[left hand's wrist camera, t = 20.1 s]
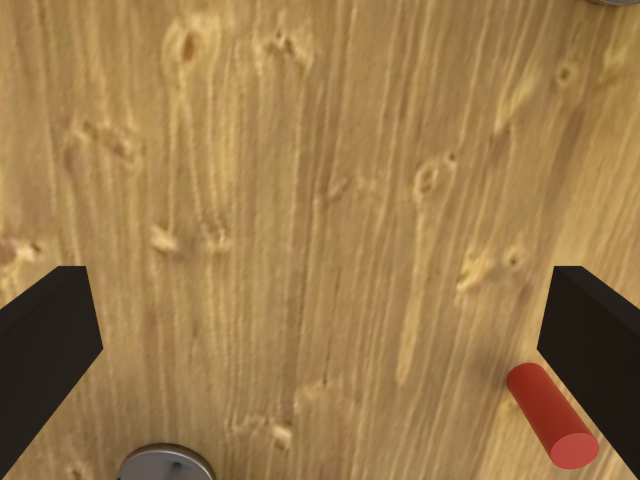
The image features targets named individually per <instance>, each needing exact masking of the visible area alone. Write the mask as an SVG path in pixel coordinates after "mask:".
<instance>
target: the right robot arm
mask: <svg viewBox="0 0 640 480" xmlns="http://www.w3.org/2000/svg"><path fill="white" fill-rule="evenodd" d="M116 480H216V477H215V474H214V471H213V469H212V468H211V466H210V465H209V464H208V462H207V461H206V460H205V459H204V458H202V457H201V456H200V455H198V454H197V453H195V452H193V451H191V450H189V449H187V448H184V447H181V446H177V445H171V444H153V445H148V446H145V447H142V448H139V449H137V450H135V451H134V452H132V453H131V454H130V455H129V456H128V457H127V458H126V459H125V461H124V462H123V464H122V466H121V468H120V470H119V472H118V474H117V478H116Z"/></svg>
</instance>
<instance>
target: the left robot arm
mask: <svg viewBox="0 0 640 480" xmlns="http://www.w3.org/2000/svg"><path fill="white" fill-rule="evenodd" d="M587 1H589V2H591V3H594V4H598V5H602V6H613V7H616V6H625V5H630V4H635V3H639V2H640V0H587ZM102 350H103V345H102V340H101V335H100V331H99V326H98V321H97V317H96V312H95V307H94V302H93V298H92V293H91V288H90V284H89V279H88V274H87V270H86V266H58V267H56V268H55V269H54V270H52V271H51V272H50V273H48V274H47V275H46V276H44V277H43V278H42V279H40V280H39V281H38V282H36V283H35V284H34V285H32V286H31V287H30V288H28V289H27V290H26V291H24V292H23V293H22V294H20V295H19V296H18V297H16V298H15V299H14V300H12V301H11V302H10V303H8V304H7V305H6V306H4V307H3V308H2V309H0V480H2V479H3V478H4V476H5V475H6V474H7V472H8V471H9V470H10V469H11V467H12V466H13V465H14V463H15V462H16V461H17V459H18V458H19V457H20V456H21V454H22V453H23V452H24V450H25V449H26V448H27V447H28V445H29V444H30V443H31V441H32V440H33V439H34V438H35V436H36V435H37V434H38V432H39V431H40V430H41V429H42V427H43V426H44V425H45V423H46V422H47V421H48V420H49V418H50V417H51V416H52V414H53V413H54V412H55V411H56V409H57V408H58V407H59V405H60V404H61V403H62V402H63V400H64V399H65V398H66V396H67V395H68V394H69V392H70V391H71V390H72V389H73V387H74V386H75V385H76V383H77V382H78V381H79V380H80V378H81V377H82V376H83V374H84V373H85V372H86V371H87V369H88V368H89V367H90V365H91V364H92V363H93V362H94V360H95V359H96V358H97V356H98V355H99V354H100V353H101V351H102ZM537 350H538V351H539V353H540V354H541V355H542V356H543V358H544V359H545V360H546V362H547V363H548V364H549V365H550V367H551V368H552V369H553V371H554V372H555V373H556V374H557V376H558V377H559V378H560V380H561V381H562V382H563V383H564V385H565V386H566V387H567V389H568V390H569V391H570V392H571V394H572V395H573V396H574V398H575V399H576V400H577V402H578V403H579V404H580V405H581V407H582V408H583V409H584V411H585V412H586V413H587V414H588V416H589V417H590V418H591V420H592V421H593V422H594V423H595V425H596V426H597V427H598V429H599V430H600V431H601V432H602V434H603V435H604V436H605V438H606V439H607V440H608V441H609V443H610V444H611V445H612V447H613V448H614V449H615V450H616V452H617V453H618V454H619V456H620V457H621V458H622V459H623V461H624V462H625V463H626V465H627V466H628V467H629V469H630V470H631V471H632V472H633V474H634V475H635V476H636V478H637V479H638V480H640V309H638V308H637V307H636V306H634V305H633V304H632V303H630V302H629V301H628V300H626V299H625V298H624V297H622V296H621V295H620V294H618V293H617V292H616V291H614V290H613V289H612V288H610V287H609V286H608V285H606V284H605V283H604V282H602V281H601V280H600V279H598V278H597V277H596V276H594V275H593V274H592V273H590V272H589V271H588V270H586V269H585V268H584V267H582V266H554V270H553V274H552V279H551V284H550V288H549V293H548V298H547V302H546V307H545V312H544V317H543V321H542V326H541V331H540V335H539V340H538V345H537Z"/></svg>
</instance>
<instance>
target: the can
mask: <svg viewBox="0 0 640 480" xmlns="http://www.w3.org/2000/svg"><path fill="white" fill-rule="evenodd" d="M507 386H508V388H509V390H510V391H511V393H512V395H513V396H514V398H515V400H516V401H517V403H518V405H519V406H520V408H521V410H522V412H523V413H524V415H525V417H526V418H527V420H528V422H529V423H530V425H531V427H532V428H533V430H534V432H535V434H536V435H537V437H538V439H539V440H540V442H541V444H542V445H543V447H544V449H545V450H546V452H547V454H548V456H549V457H550V459H551V461H552V462H553V463H554V464H555V465H556V466H558V467H560V468H563V469H577V468H581V467H583V466H585V465H587V464H589V463H590V462H591V461H593V460H594V459H595V457H596V456H597V454H598V452H599V444H598V441H597V440H596V438H595V437H594V436H593V434H592V433H591V432H590V430H589V429H588V428H587V426H586V425H585V424H584V422H583V421H582V420H581V418H580V417H579V416H578V414H577V413H576V411H575V410H574V409H573V407H572V406H571V405H570V403H569V402H568V401H567V399H566V398H565V397H564V395H563V394H562V393H561V391H560V390H559V389H558V387H557V386H556V385H555V383H554V382H553V381H552V379H551V378H550V377H549V375H548V374H547V373H546V371H545V370H544V369H543V368H542V367H541V366H539V365H537V364H533V363H527V364H522V365H520V366H517V367H516V368H514V369H513V370H512V371H511V372H510V374H509V375H508V378H507Z"/></svg>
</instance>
